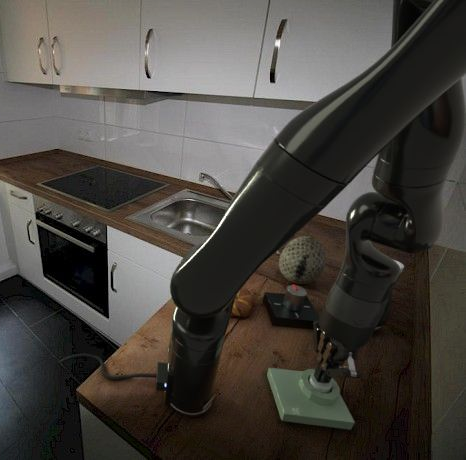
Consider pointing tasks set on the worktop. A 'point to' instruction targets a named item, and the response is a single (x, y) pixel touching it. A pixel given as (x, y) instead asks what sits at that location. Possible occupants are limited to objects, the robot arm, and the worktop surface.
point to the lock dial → (294, 298)
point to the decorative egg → (302, 260)
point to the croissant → (243, 303)
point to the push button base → (308, 400)
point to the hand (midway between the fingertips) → (320, 379)
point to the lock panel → (289, 312)
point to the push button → (319, 385)
